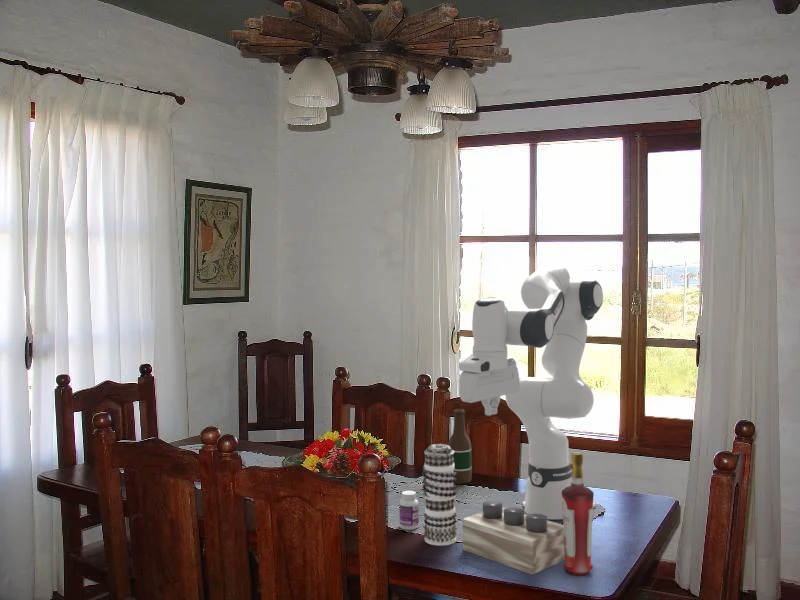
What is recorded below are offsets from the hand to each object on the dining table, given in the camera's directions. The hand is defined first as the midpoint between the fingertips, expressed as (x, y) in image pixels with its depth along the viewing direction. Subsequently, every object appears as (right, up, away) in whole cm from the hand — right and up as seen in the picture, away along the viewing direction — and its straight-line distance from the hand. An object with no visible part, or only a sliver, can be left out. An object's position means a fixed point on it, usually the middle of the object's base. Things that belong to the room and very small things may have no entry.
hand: (491, 414), depth 198 cm
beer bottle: (-3, -31, +58) cm, 66 cm away
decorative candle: (-13, -34, +5) cm, 37 cm away
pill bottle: (-21, -34, +15) cm, 42 cm away
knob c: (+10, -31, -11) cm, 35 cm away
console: (+5, -34, -6) cm, 35 cm away
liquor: (+18, -35, -17) cm, 43 cm away
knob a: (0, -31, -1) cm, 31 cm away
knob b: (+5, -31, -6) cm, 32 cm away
